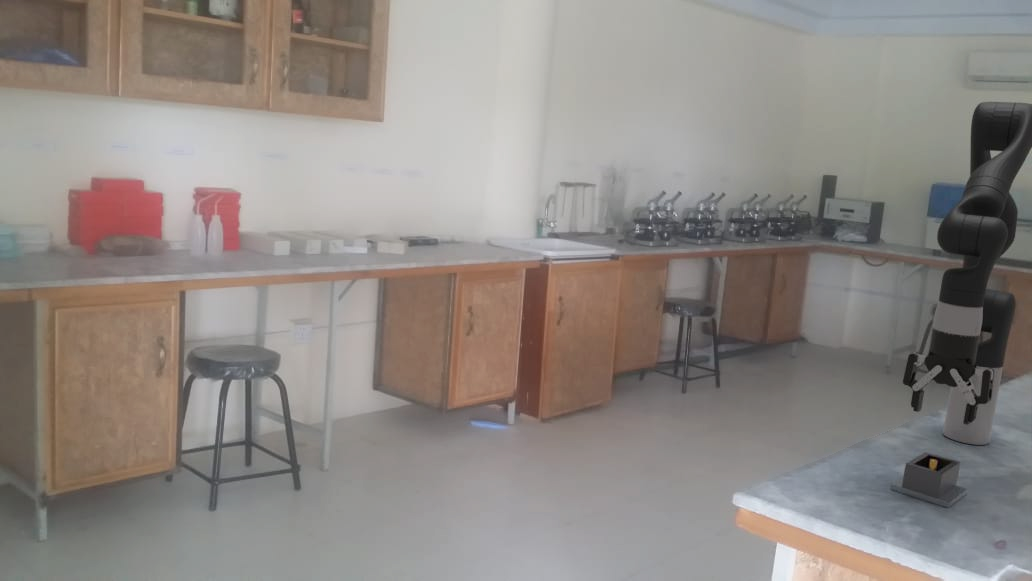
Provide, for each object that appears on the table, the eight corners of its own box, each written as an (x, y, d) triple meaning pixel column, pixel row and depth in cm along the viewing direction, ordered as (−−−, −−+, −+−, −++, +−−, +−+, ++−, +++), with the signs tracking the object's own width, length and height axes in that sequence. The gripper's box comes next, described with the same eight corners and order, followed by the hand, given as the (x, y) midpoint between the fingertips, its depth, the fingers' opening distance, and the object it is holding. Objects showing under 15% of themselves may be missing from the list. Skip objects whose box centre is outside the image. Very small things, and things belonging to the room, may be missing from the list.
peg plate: (910, 476, 168) (915, 446, 167) (966, 494, 162) (972, 462, 161) (890, 489, 161) (895, 457, 160) (948, 507, 154) (954, 475, 153)
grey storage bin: (921, 474, 167) (925, 452, 166) (956, 485, 163) (960, 462, 162) (901, 487, 160) (905, 463, 159) (937, 498, 156) (942, 474, 155)
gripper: (1006, 334, 154) (990, 424, 157) (922, 318, 163) (908, 402, 166) (994, 340, 149) (977, 432, 152) (907, 323, 158) (893, 410, 161)
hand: (941, 417), depth 159 cm, fingers open, 8 cm apart
